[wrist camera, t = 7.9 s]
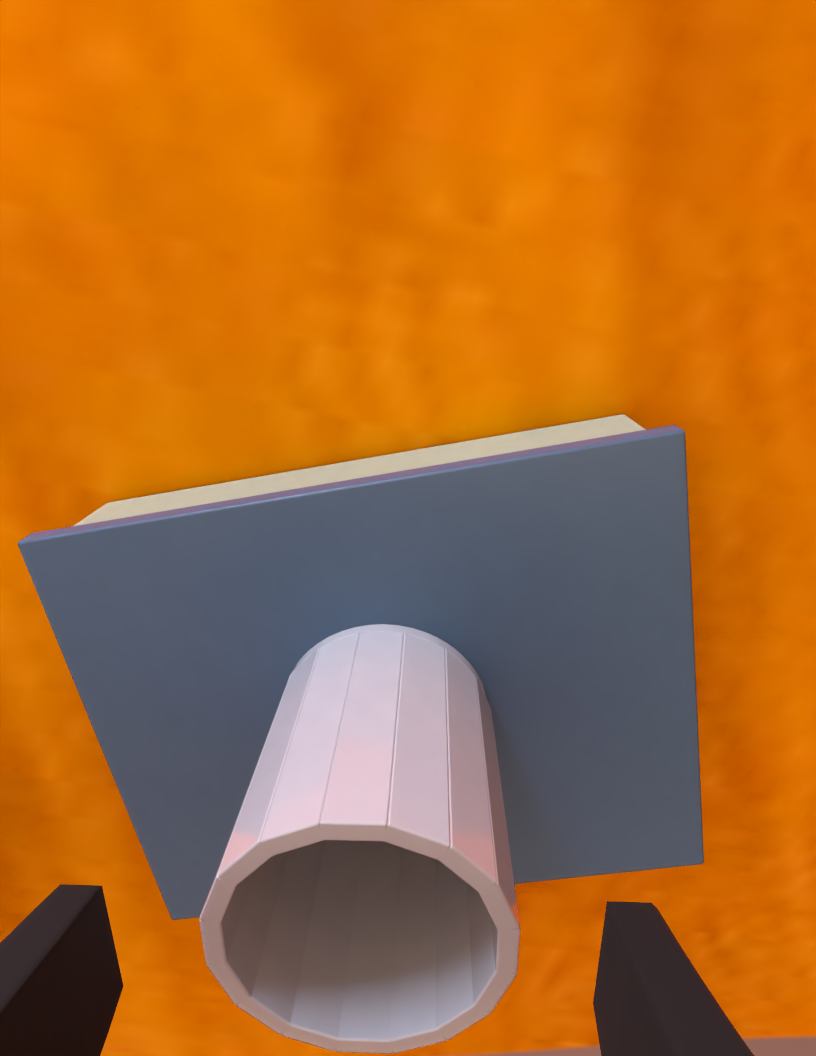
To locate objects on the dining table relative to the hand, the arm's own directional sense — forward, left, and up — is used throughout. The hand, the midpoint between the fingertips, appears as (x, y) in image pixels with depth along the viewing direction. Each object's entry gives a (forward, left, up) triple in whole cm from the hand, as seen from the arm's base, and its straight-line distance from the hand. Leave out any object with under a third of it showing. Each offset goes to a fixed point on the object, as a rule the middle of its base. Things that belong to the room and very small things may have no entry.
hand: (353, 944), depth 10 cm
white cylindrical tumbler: (0, -1, -7) cm, 7 cm away
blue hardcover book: (0, -1, -10) cm, 10 cm away
